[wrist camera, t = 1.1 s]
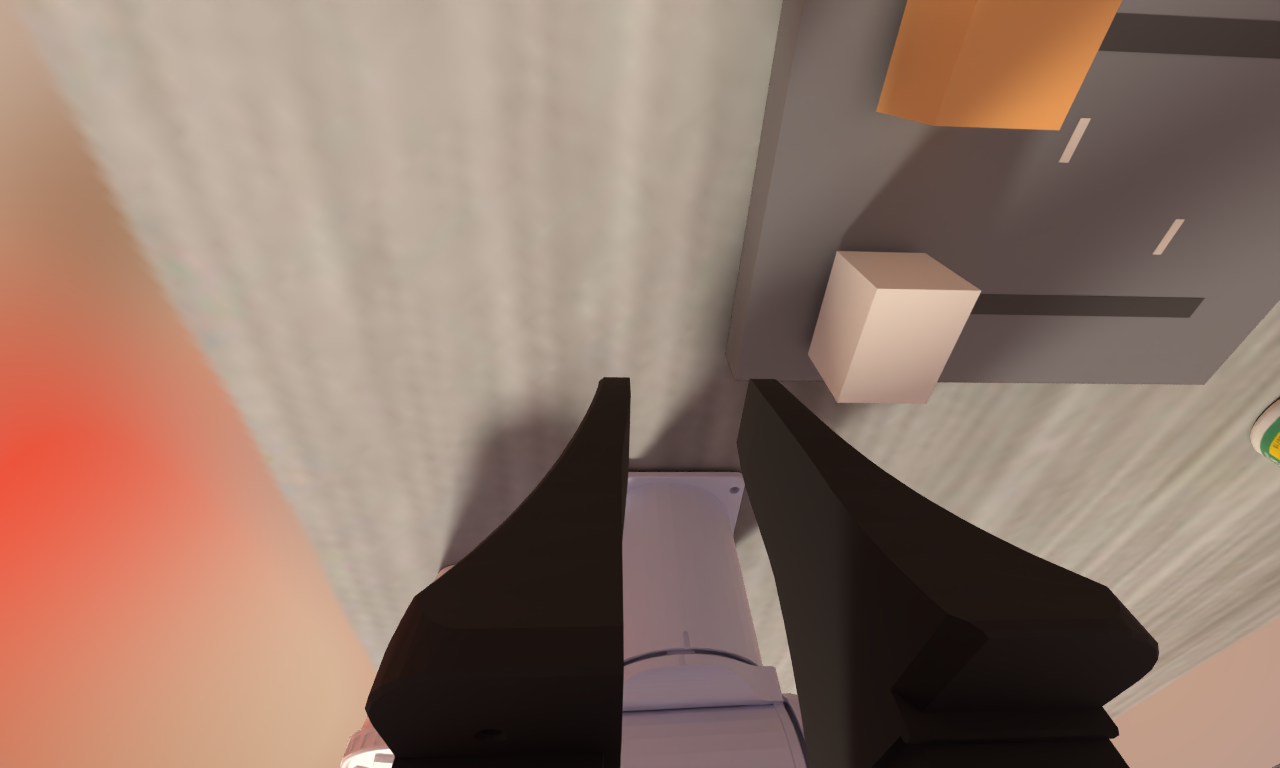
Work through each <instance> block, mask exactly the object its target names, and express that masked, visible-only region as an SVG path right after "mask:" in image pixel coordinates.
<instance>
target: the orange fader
mask: <svg viewBox="0 0 1280 768" xmlns="http://www.w3.org/2000/svg"><path fill="white" fill-rule="evenodd" d="M1121 2H1122V0H907V4H906V7H905V11H904V14H903V18H902V21H901V25H900V28H899V32H898V36H897V39H896V43H895V46H894V50H893V53H892V57H891V60H890V64H889V68H888V71H887V75H886V78H885V82H884V85H883V89H882V92H881V96H880V100H879V103H878V107H877V110H876V112H880V113H884V114H888V115H892V116H896V117H900V118H904V119H908V120H912V121H916V122H920V123H924V124H929V125H933V126H953V127H981V128H1009V129H1037V130H1060V128H1061V126H1062V124H1063V122H1064V120H1065V118H1066V115H1067V113H1068V111H1069V109H1070V107H1071V105H1072V103H1073V101H1074V99H1075V97H1076V95H1077V93H1078V91H1079V89H1080V87H1081V85H1082V83H1083V80H1084V78H1085V76H1086V74H1087V72H1088V70H1089V68H1090V66H1091V64H1092V62H1093V60H1094V58H1095V56H1096V54H1097V52H1098V50H1099V48H1100V45H1101V43H1102V41H1103V39H1104V37H1105V35H1106V33H1107V31H1108V29H1109V27H1110V25H1111V23H1112V21H1113V19H1114V17H1115V15H1116V13H1117V10H1118V8H1119V6H1120V4H1121Z"/></svg>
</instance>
